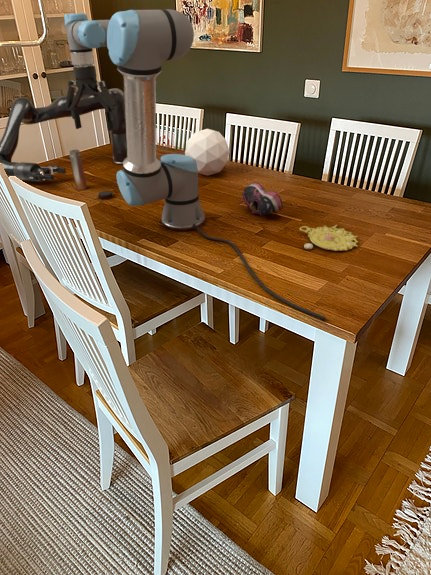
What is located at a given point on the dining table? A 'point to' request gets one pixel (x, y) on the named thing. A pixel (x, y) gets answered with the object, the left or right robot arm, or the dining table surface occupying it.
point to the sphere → (208, 151)
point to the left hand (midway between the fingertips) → (59, 174)
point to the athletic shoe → (261, 200)
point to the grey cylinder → (78, 169)
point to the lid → (105, 194)
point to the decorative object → (330, 238)
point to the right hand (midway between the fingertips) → (94, 129)
